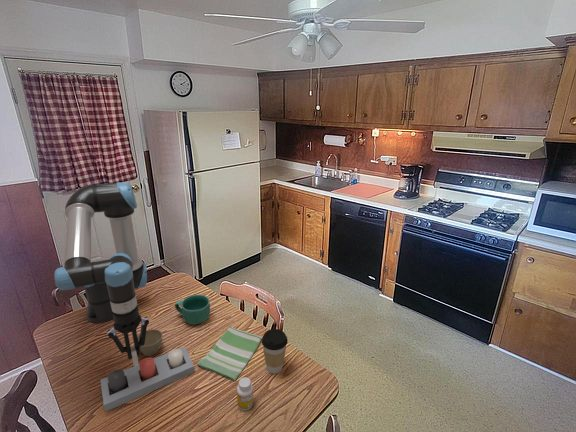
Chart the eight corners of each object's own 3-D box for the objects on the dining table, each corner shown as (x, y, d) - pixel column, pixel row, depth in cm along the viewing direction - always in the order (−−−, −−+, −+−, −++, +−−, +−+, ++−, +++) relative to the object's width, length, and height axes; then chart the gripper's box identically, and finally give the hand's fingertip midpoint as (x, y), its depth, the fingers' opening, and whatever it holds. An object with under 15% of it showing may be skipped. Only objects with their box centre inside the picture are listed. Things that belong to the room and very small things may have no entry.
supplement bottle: (238, 397, 109) (237, 375, 106) (253, 396, 110) (252, 375, 107) (237, 411, 104) (235, 389, 101) (253, 410, 105) (252, 388, 101)
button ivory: (168, 364, 121) (166, 352, 119) (181, 358, 124) (180, 346, 122) (171, 373, 118) (170, 360, 116) (185, 367, 120) (183, 355, 118)
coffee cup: (290, 361, 125) (291, 331, 120) (281, 380, 116) (282, 349, 111) (267, 355, 128) (267, 325, 123) (257, 373, 119) (257, 342, 114)
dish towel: (195, 367, 122) (195, 361, 121) (229, 329, 142) (228, 325, 141) (235, 382, 115) (234, 377, 115) (263, 341, 136) (263, 336, 135)
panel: (102, 385, 113) (100, 379, 112) (185, 352, 128) (184, 346, 127) (105, 411, 103) (103, 405, 102) (194, 372, 119) (194, 366, 118)
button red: (140, 373, 116) (138, 361, 114) (154, 367, 118) (152, 355, 116) (143, 383, 112) (140, 370, 110) (157, 377, 115) (155, 364, 113)
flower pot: (155, 362, 123) (152, 348, 121) (132, 358, 125) (129, 344, 122) (169, 344, 132) (167, 330, 130) (148, 340, 134) (145, 327, 132)
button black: (110, 386, 111) (106, 373, 109) (125, 379, 113) (122, 367, 111) (111, 396, 107) (108, 383, 105) (127, 389, 109) (124, 376, 107)
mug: (215, 313, 152) (214, 297, 149) (202, 330, 141) (200, 313, 138) (185, 307, 156) (183, 291, 153) (170, 323, 145) (168, 306, 142)
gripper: (104, 321, 96) (117, 379, 104) (148, 307, 104) (157, 362, 112) (101, 309, 102) (113, 364, 110) (143, 296, 109) (152, 349, 117)
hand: (135, 363), depth 111 cm, fingers closed
